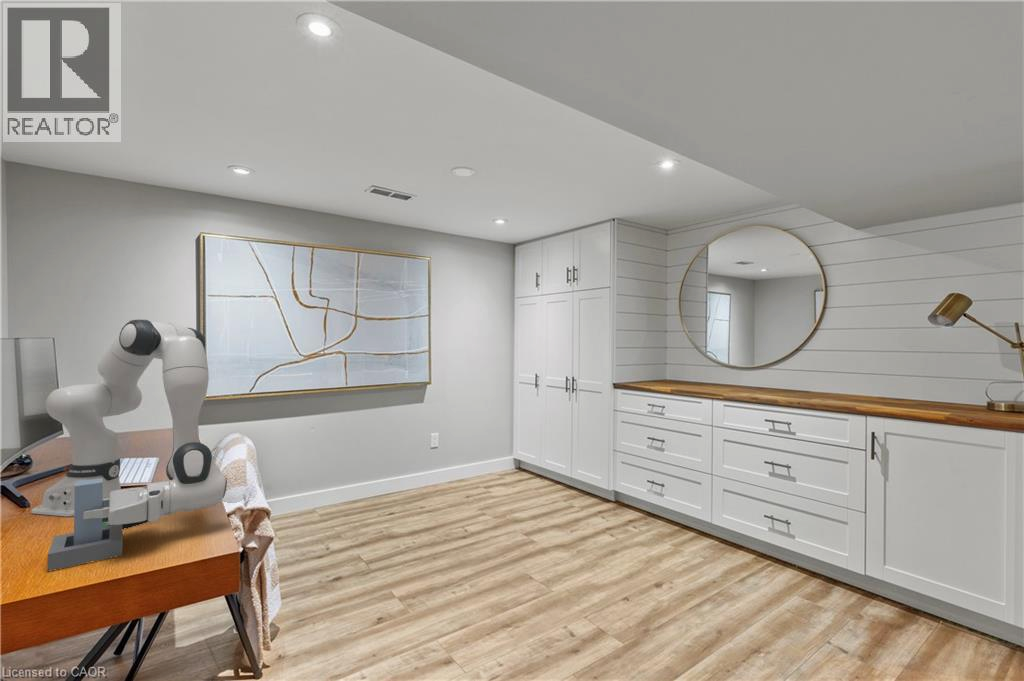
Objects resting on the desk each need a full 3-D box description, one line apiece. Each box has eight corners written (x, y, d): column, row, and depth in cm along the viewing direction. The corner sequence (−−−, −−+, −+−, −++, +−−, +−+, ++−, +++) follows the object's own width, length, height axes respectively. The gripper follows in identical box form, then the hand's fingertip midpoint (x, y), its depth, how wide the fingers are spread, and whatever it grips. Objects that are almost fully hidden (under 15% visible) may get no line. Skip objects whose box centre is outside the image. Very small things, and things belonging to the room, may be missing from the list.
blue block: (75, 546, 116) (76, 481, 116) (102, 541, 119) (103, 478, 119) (73, 553, 112) (74, 486, 112) (101, 548, 115) (102, 482, 115)
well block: (53, 552, 116) (53, 536, 116) (122, 539, 124) (122, 523, 125) (47, 572, 106) (47, 554, 106) (122, 556, 114) (122, 539, 115)
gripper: (153, 479, 132) (86, 488, 123) (157, 497, 116) (81, 509, 107) (152, 501, 132) (86, 512, 123) (157, 523, 116) (81, 537, 107)
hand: (83, 511), depth 115 cm, fingers closed on blue block, 5 cm apart
